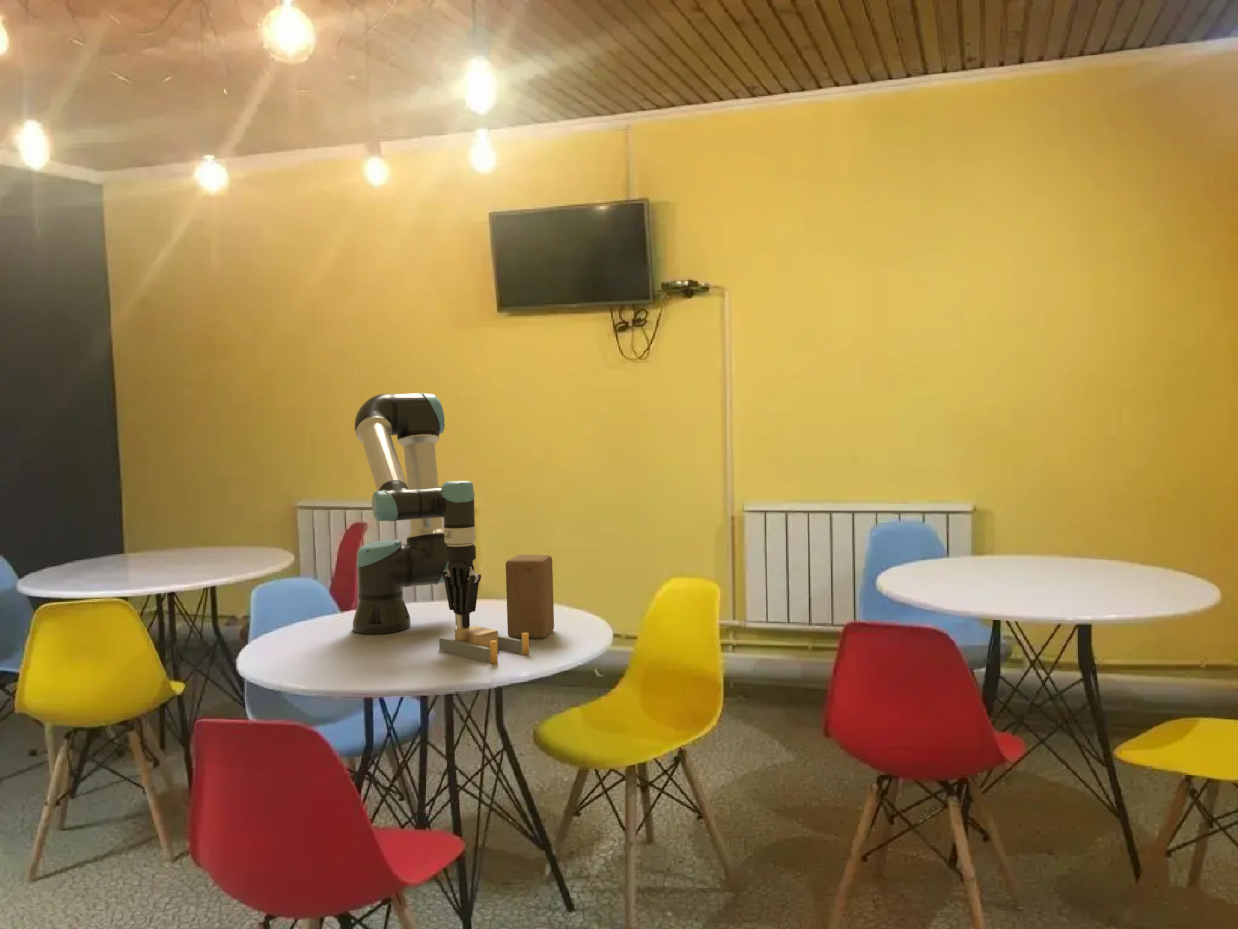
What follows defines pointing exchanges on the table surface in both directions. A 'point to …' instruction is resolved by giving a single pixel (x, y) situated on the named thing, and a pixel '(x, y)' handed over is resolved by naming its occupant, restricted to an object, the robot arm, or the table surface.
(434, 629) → the table surface
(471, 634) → the oak block
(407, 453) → the robot arm
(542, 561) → the wooden block
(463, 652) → the chute
